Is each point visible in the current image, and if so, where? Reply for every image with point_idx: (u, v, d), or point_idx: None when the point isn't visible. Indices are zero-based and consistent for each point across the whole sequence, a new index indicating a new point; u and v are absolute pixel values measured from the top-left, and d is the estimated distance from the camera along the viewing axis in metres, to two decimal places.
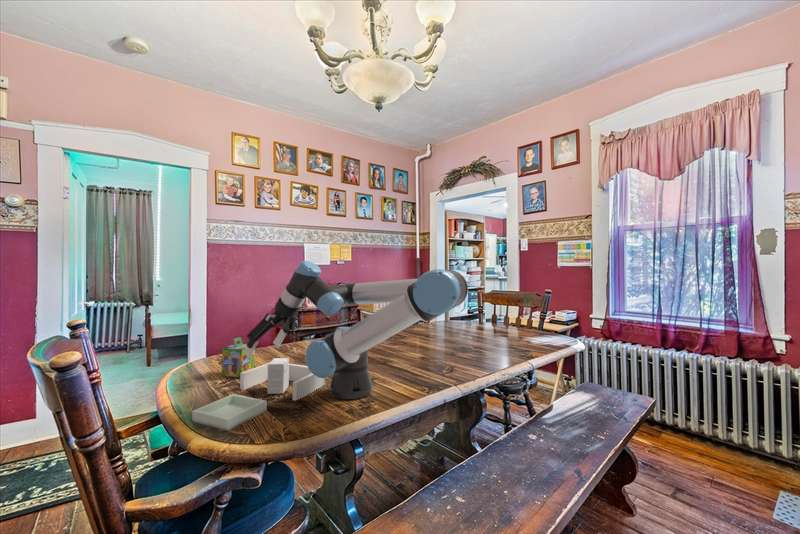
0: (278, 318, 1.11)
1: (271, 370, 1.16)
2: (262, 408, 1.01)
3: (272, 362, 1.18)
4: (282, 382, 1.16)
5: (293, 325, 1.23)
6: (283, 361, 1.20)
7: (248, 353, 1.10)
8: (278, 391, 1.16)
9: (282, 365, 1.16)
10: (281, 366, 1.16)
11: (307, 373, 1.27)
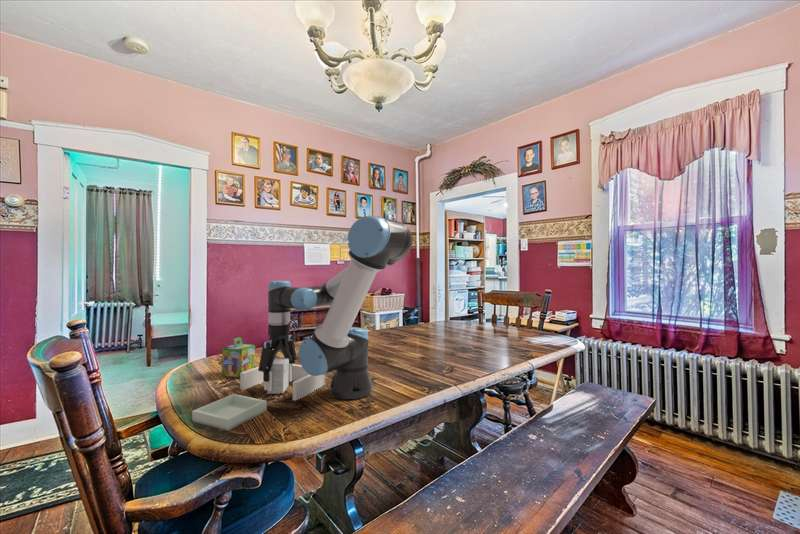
0: (275, 341, 1.17)
1: (271, 370, 1.16)
2: (262, 408, 1.01)
3: None
4: (282, 382, 1.16)
5: (294, 352, 1.26)
6: (283, 361, 1.20)
7: (269, 387, 1.15)
8: (278, 391, 1.16)
9: (282, 365, 1.16)
10: (281, 366, 1.16)
11: (307, 373, 1.27)
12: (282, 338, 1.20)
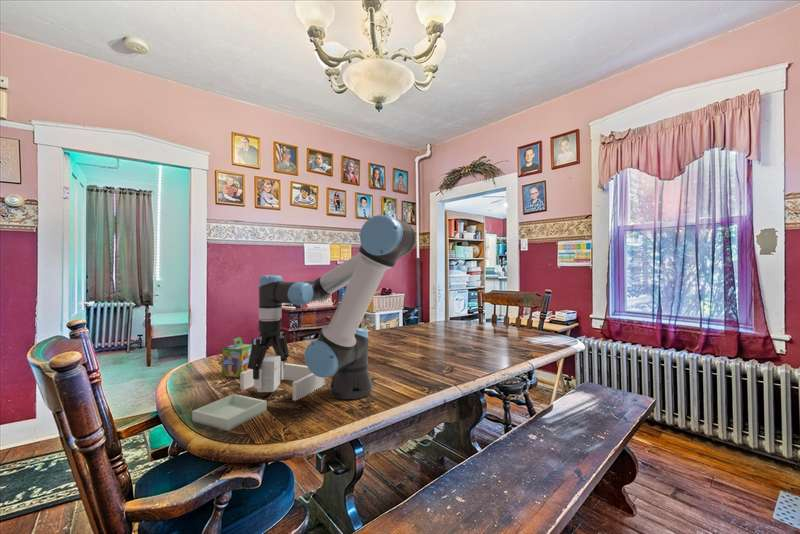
0: (266, 337, 1.13)
1: (261, 367, 1.12)
2: (262, 408, 1.01)
3: None
4: (272, 380, 1.12)
5: (286, 349, 1.22)
6: (274, 358, 1.16)
7: (258, 385, 1.11)
8: (268, 389, 1.12)
9: (272, 362, 1.12)
10: (271, 363, 1.12)
11: (307, 373, 1.27)
12: (273, 335, 1.16)
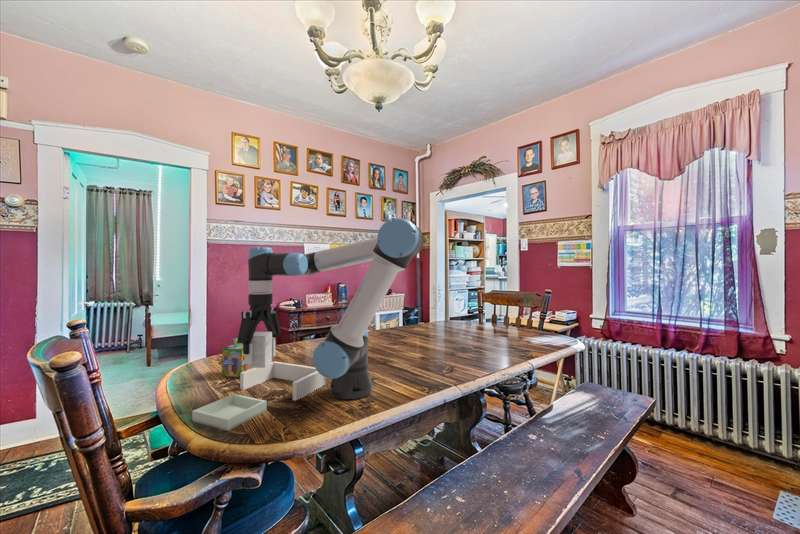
0: (256, 311, 1.09)
1: (252, 342, 1.08)
2: (262, 408, 1.01)
3: None
4: (264, 355, 1.08)
5: (278, 325, 1.18)
6: (265, 333, 1.11)
7: (249, 361, 1.06)
8: (259, 365, 1.08)
9: (263, 337, 1.08)
10: (262, 338, 1.08)
11: (307, 373, 1.27)
12: (264, 309, 1.12)
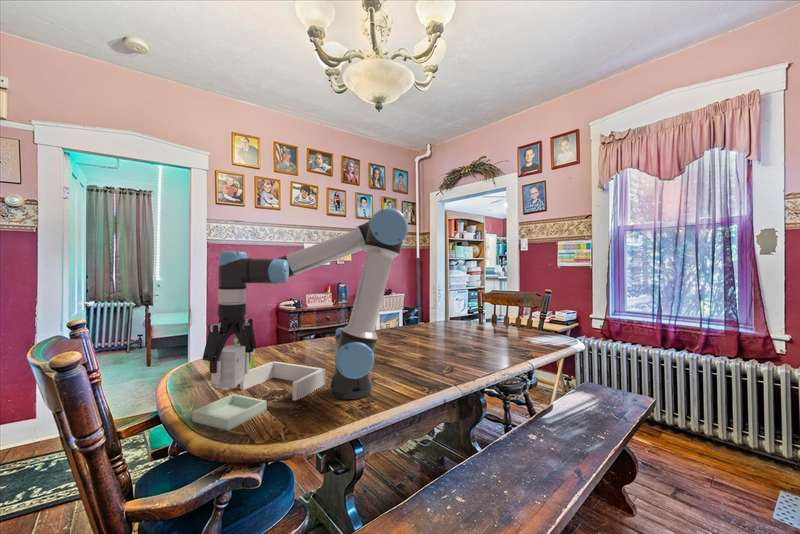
0: (226, 324, 0.96)
1: (220, 359, 0.95)
2: (262, 408, 1.01)
3: (222, 350, 0.97)
4: (233, 374, 0.95)
5: (253, 339, 1.05)
6: (236, 349, 0.98)
7: (216, 381, 0.94)
8: (228, 385, 0.95)
9: (233, 353, 0.95)
10: (232, 354, 0.95)
11: (307, 373, 1.27)
12: (236, 321, 0.99)
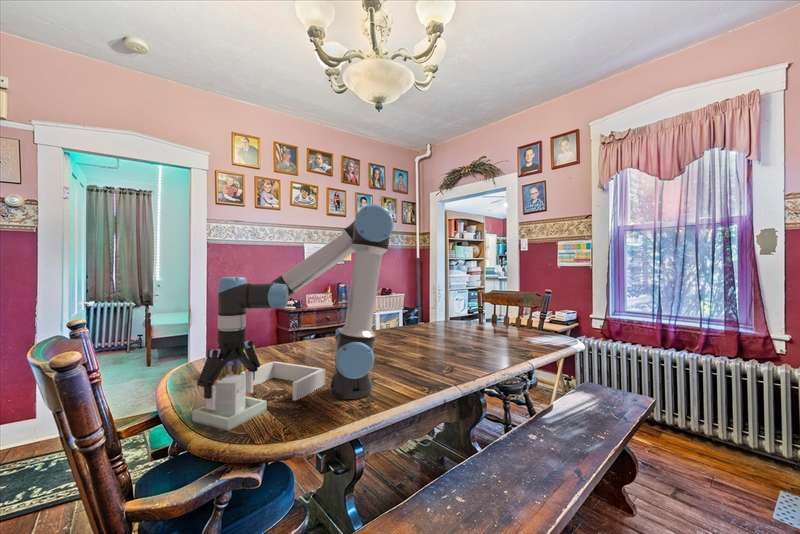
0: (226, 350, 0.96)
1: (220, 390, 0.95)
2: (262, 408, 1.01)
3: (222, 380, 0.97)
4: (233, 405, 0.95)
5: (256, 359, 1.06)
6: (236, 379, 0.98)
7: (211, 406, 0.92)
8: (229, 416, 0.95)
9: (233, 384, 0.95)
10: (232, 386, 0.95)
11: (307, 373, 1.27)
12: (235, 348, 0.99)
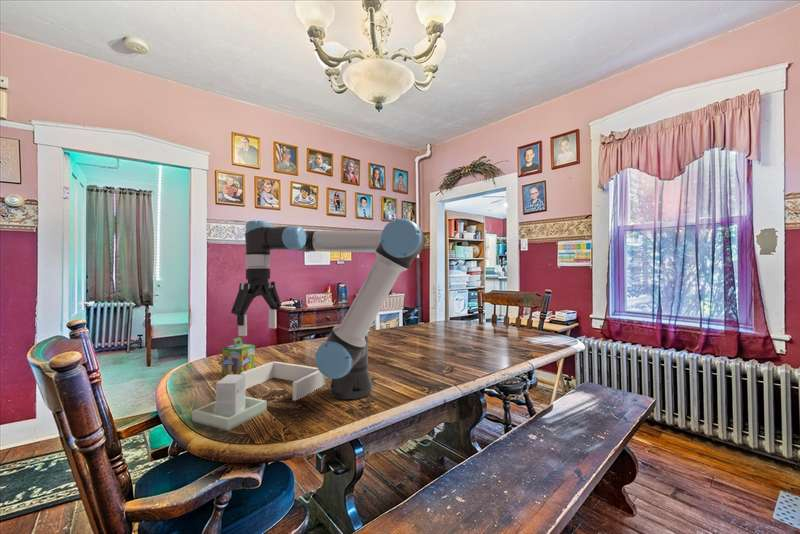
0: (254, 285, 1.07)
1: (220, 390, 0.95)
2: (262, 408, 1.01)
3: (222, 380, 0.97)
4: (233, 405, 0.95)
5: (278, 299, 1.18)
6: (236, 379, 0.98)
7: (243, 332, 1.03)
8: (229, 416, 0.95)
9: (233, 384, 0.95)
10: (232, 386, 0.95)
11: (307, 373, 1.27)
12: (262, 285, 1.11)
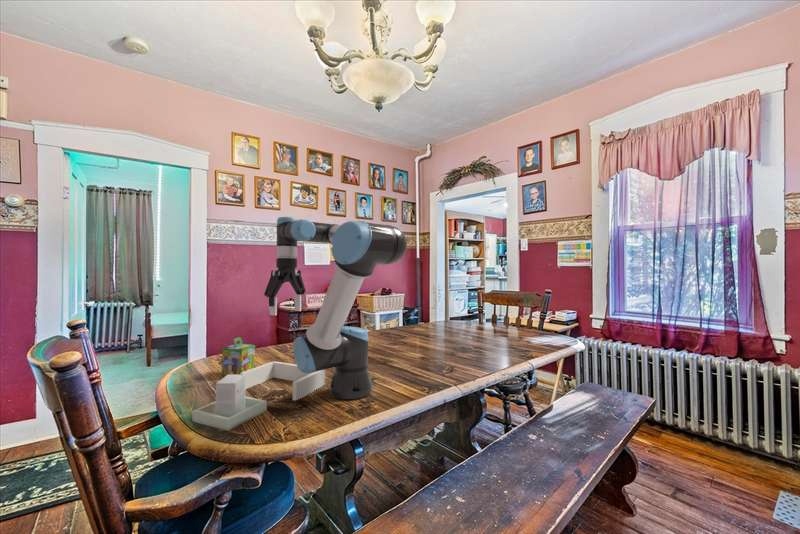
0: (283, 272, 1.25)
1: (220, 390, 0.95)
2: (262, 408, 1.01)
3: (222, 380, 0.97)
4: (233, 405, 0.95)
5: (302, 285, 1.35)
6: (236, 379, 0.98)
7: (274, 312, 1.21)
8: (229, 416, 0.95)
9: (233, 384, 0.95)
10: (232, 386, 0.95)
11: (307, 373, 1.27)
12: (289, 273, 1.28)
